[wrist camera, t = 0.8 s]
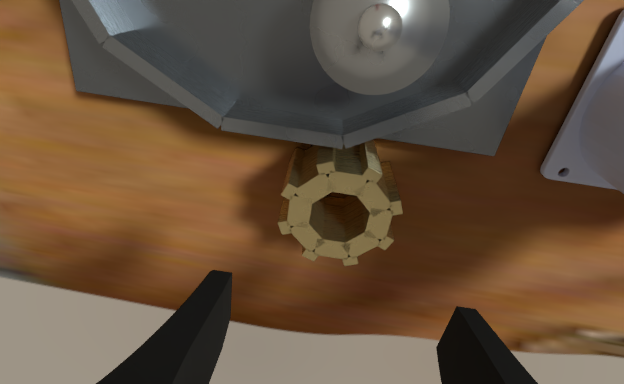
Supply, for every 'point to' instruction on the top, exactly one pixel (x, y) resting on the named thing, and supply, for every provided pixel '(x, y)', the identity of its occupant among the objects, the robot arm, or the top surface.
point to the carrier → (320, 64)
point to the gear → (339, 201)
